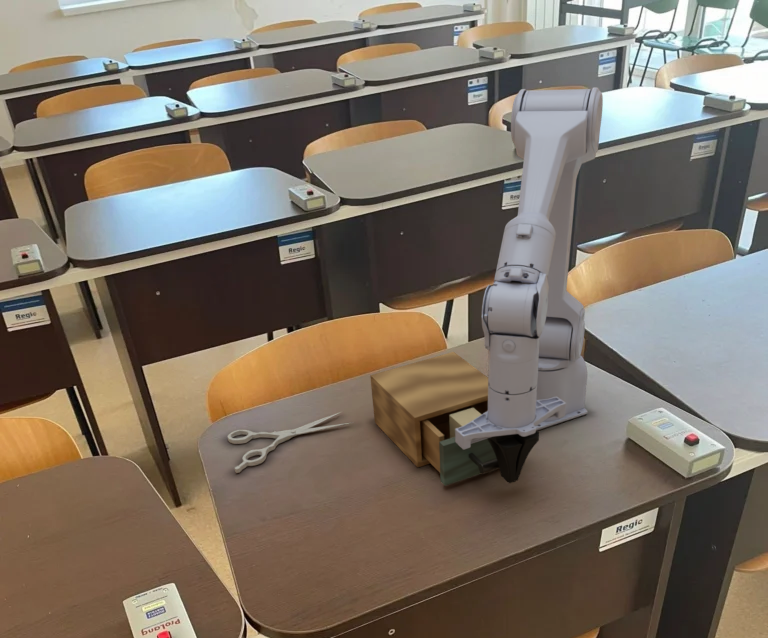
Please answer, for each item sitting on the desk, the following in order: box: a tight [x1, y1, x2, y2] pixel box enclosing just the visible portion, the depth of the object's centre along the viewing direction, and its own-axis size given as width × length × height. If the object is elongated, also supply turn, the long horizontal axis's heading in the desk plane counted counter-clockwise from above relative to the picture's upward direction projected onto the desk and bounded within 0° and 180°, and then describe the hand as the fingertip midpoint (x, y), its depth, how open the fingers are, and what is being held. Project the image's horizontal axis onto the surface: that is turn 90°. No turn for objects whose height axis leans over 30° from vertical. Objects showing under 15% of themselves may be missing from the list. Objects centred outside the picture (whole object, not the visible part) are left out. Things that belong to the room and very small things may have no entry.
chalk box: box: [449, 408, 482, 438], centre depth 104 cm, size 4×4×5 cm
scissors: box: [227, 411, 355, 474], centre depth 115 cm, size 11×1×20 cm
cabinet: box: [369, 351, 488, 468], centre depth 111 cm, size 15×14×8 cm
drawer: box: [420, 400, 500, 486], centre depth 104 cm, size 18×13×6 cm
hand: (509, 478), depth 97 cm, fingers closed, pressing on drawer
